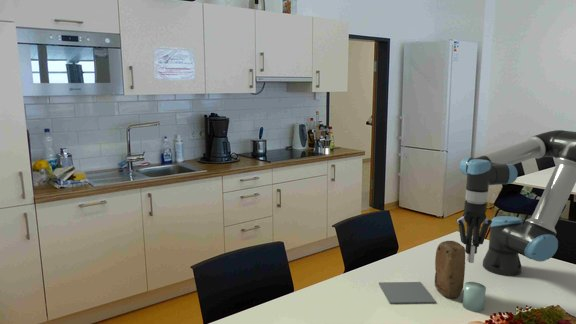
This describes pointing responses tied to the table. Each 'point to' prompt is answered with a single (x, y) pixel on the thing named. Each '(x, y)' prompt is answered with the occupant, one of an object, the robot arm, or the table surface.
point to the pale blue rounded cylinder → (474, 296)
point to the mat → (406, 292)
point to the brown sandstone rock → (450, 268)
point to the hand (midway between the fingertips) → (470, 261)
